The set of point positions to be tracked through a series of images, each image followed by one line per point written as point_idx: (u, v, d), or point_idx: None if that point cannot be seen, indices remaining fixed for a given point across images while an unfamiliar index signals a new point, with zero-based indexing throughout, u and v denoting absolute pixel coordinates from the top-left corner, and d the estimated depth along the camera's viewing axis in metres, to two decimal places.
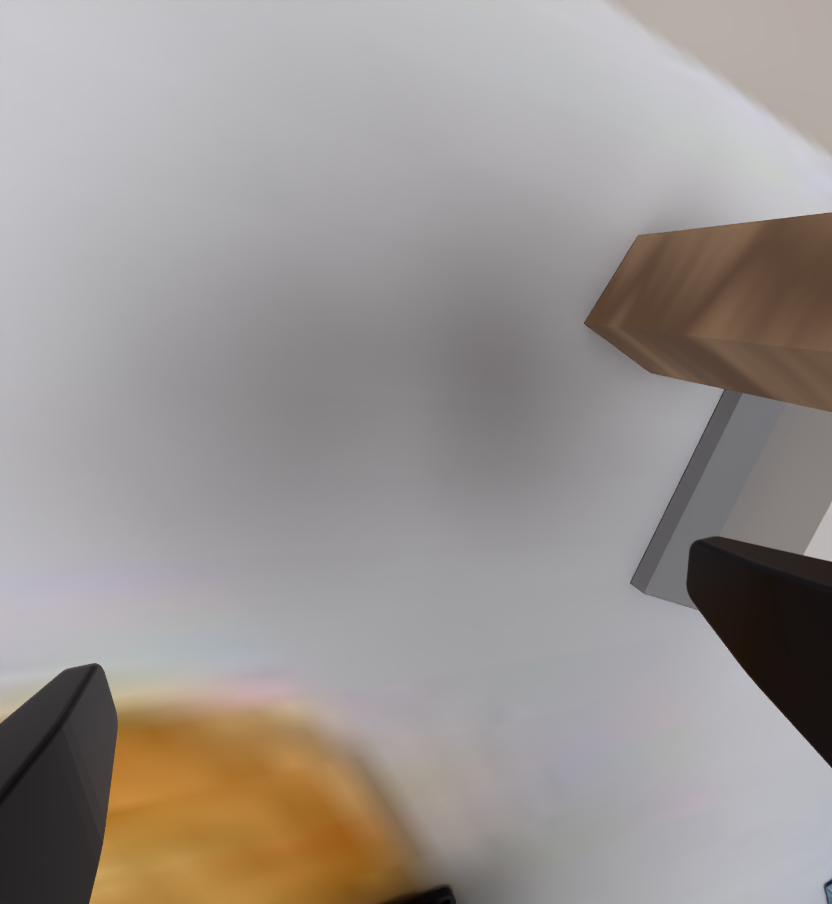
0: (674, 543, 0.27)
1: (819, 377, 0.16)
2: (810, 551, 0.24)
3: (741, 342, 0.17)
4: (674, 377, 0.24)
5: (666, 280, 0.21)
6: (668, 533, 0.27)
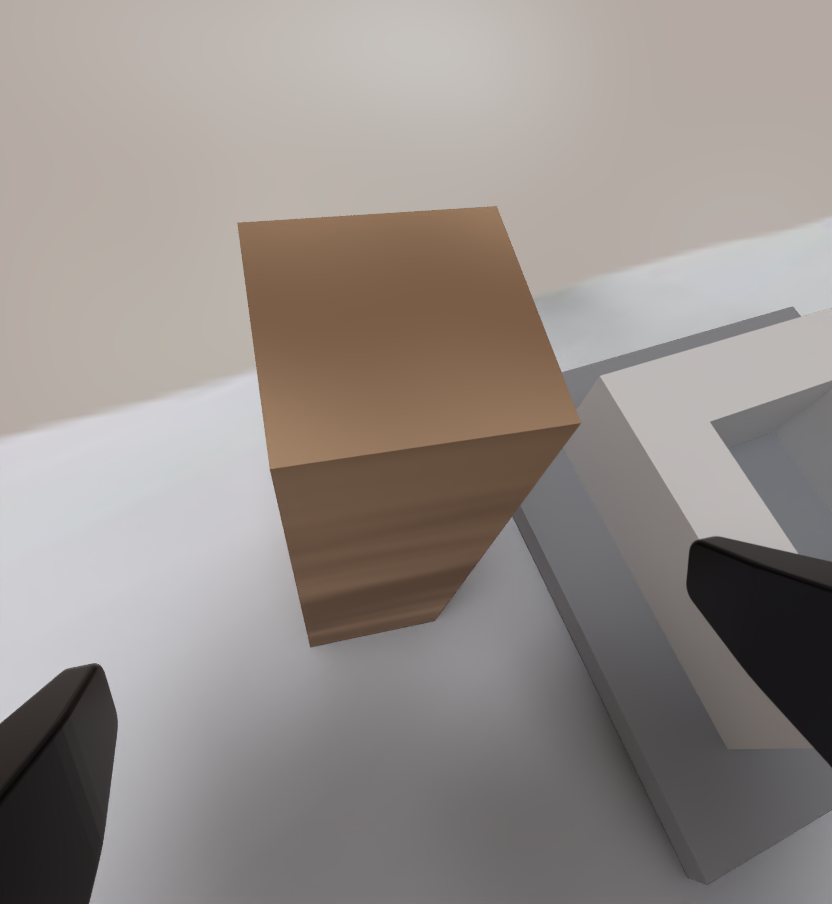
0: (665, 774, 0.17)
1: (383, 539, 0.10)
2: None
3: (297, 578, 0.11)
4: (439, 611, 0.18)
5: None
6: (646, 768, 0.17)
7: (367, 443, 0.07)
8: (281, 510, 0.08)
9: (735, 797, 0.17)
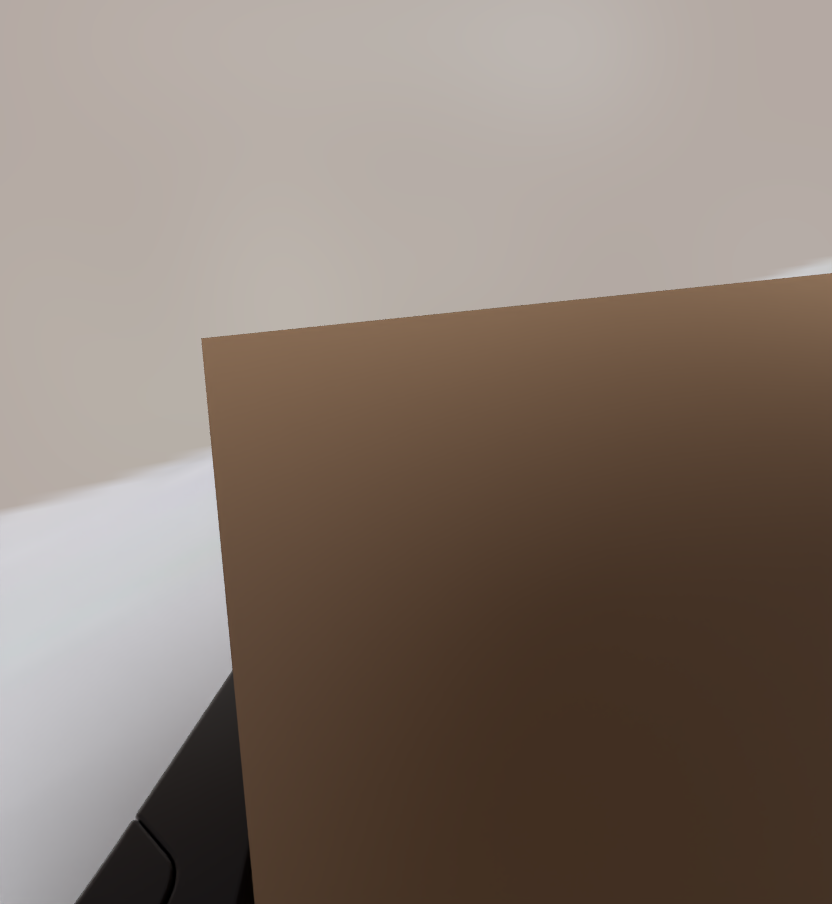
0: None
1: None
2: None
3: None
4: None
5: None
6: None
7: None
8: None
9: None
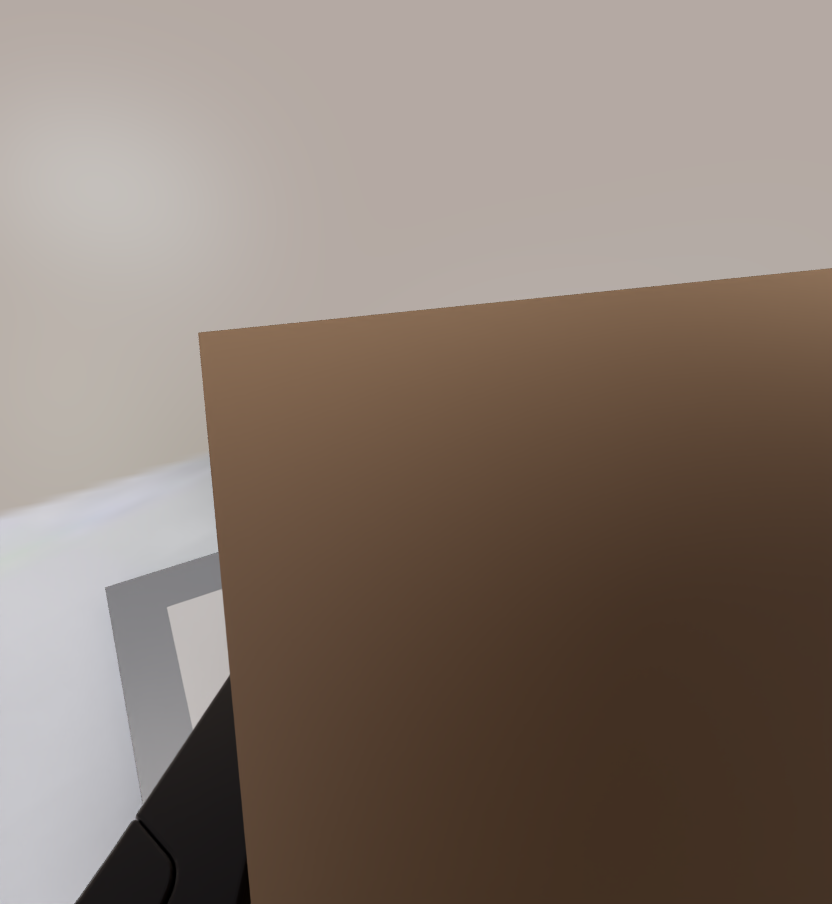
0: None
1: None
2: None
3: None
4: None
5: None
6: None
7: None
8: None
9: None
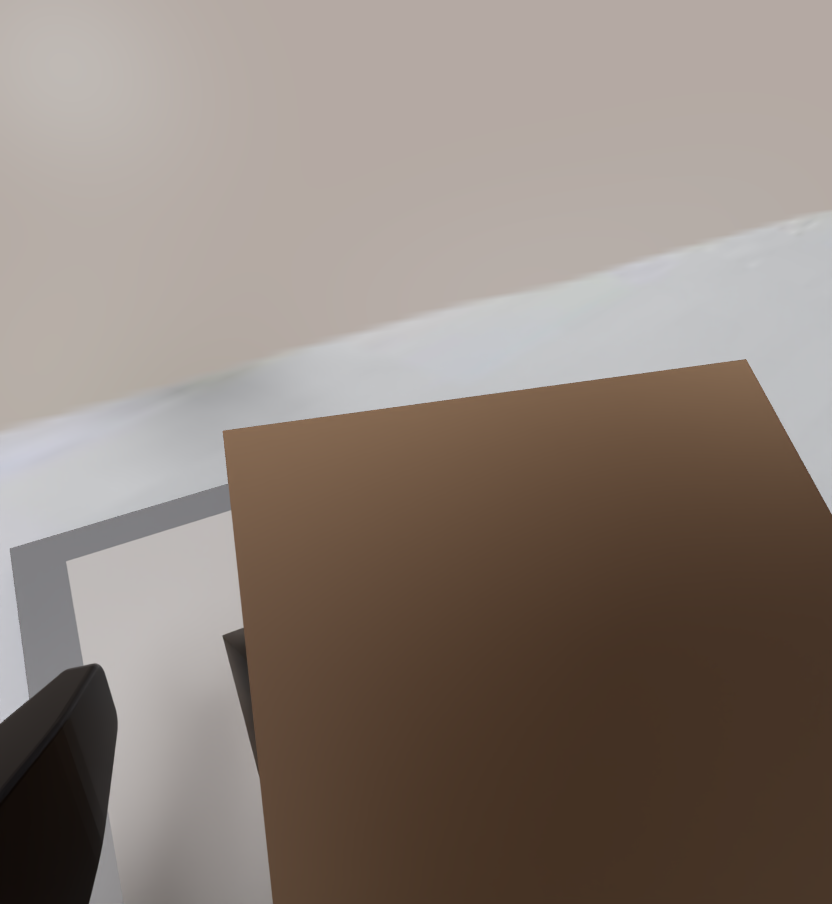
0: None
1: None
2: None
3: None
4: None
5: None
6: None
7: None
8: None
9: None
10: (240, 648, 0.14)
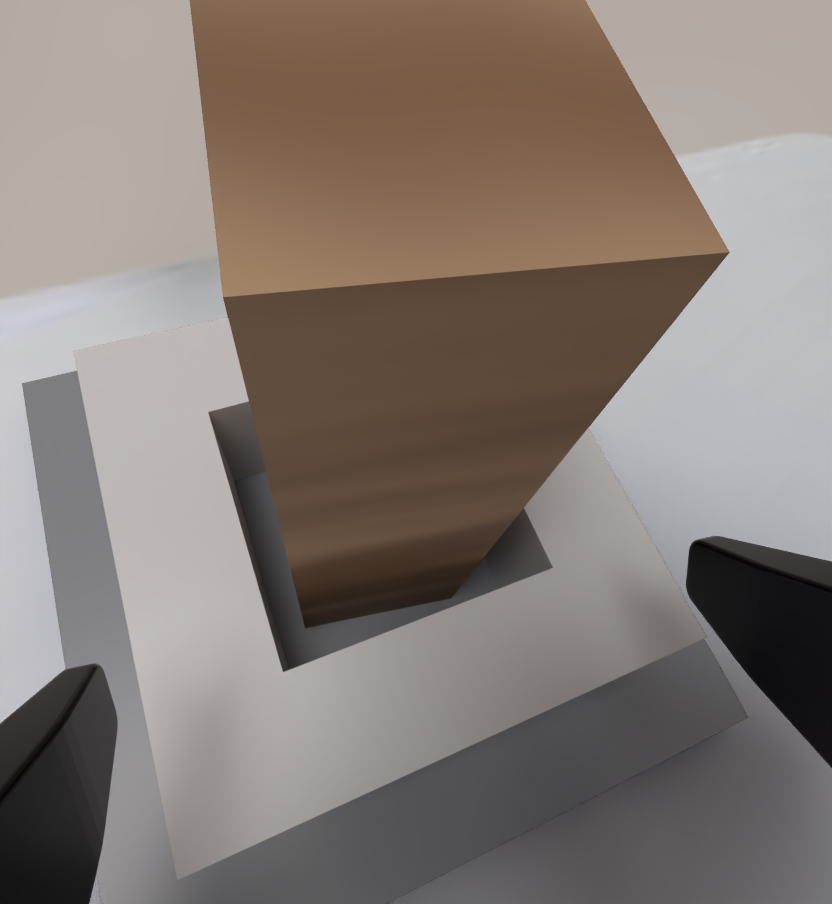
0: (116, 881, 0.13)
1: (402, 471, 0.07)
2: (165, 728, 0.11)
3: (284, 528, 0.08)
4: (458, 585, 0.15)
5: None
6: None
7: (390, 265, 0.04)
8: (251, 399, 0.05)
9: None
10: (225, 448, 0.15)
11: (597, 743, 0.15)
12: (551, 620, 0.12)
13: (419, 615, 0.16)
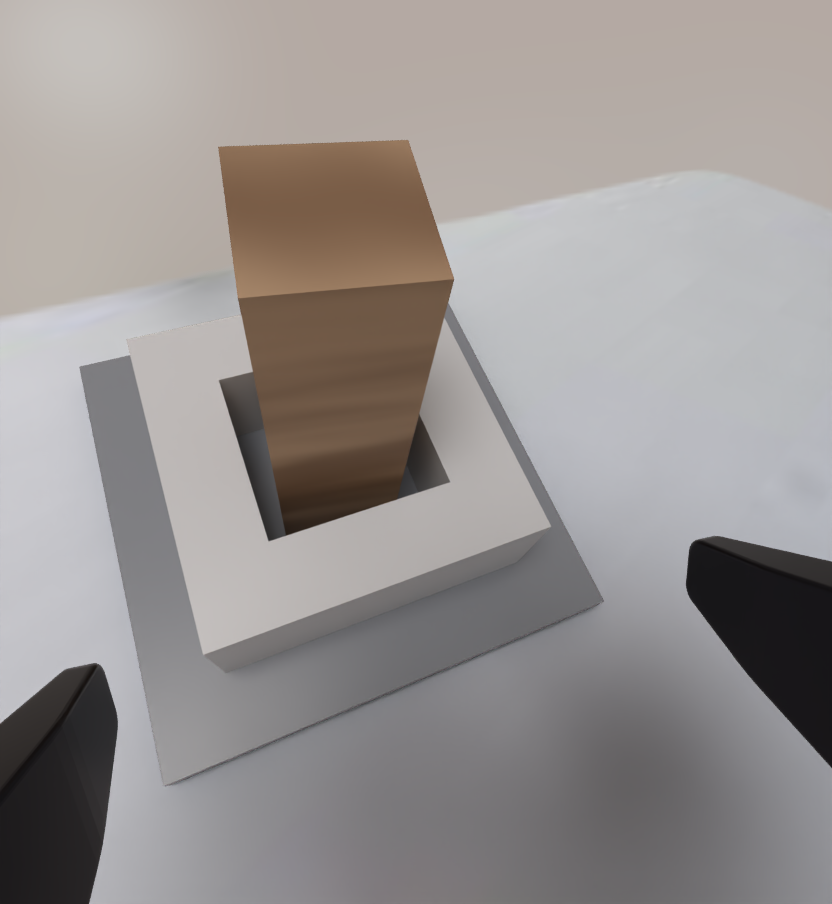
0: (157, 694, 0.19)
1: (329, 393, 0.14)
2: (194, 571, 0.17)
3: (266, 431, 0.15)
4: None
5: None
6: None
7: (304, 285, 0.11)
8: (248, 344, 0.12)
9: (218, 713, 0.19)
10: (230, 408, 0.22)
11: (492, 615, 0.22)
12: (446, 514, 0.19)
13: None
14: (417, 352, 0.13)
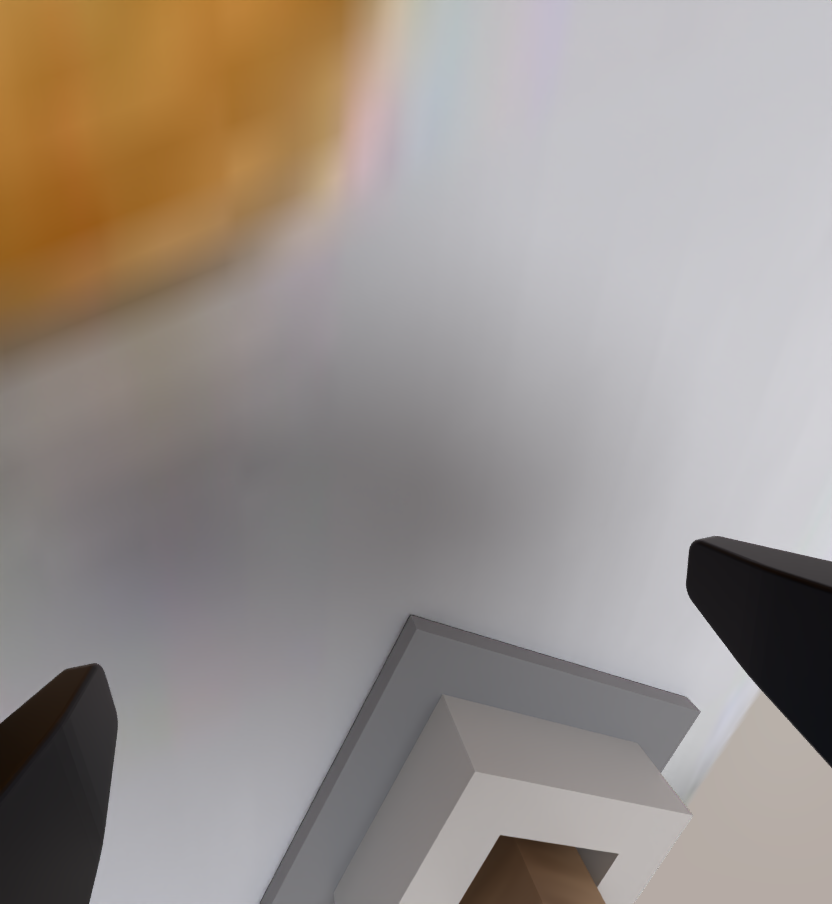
0: (469, 652, 0.24)
1: None
2: (523, 788, 0.22)
3: None
4: None
5: (549, 850, 0.24)
6: (477, 643, 0.25)
7: None
8: None
9: (424, 678, 0.24)
10: None
11: (318, 859, 0.26)
12: None
13: None
14: None
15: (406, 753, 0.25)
